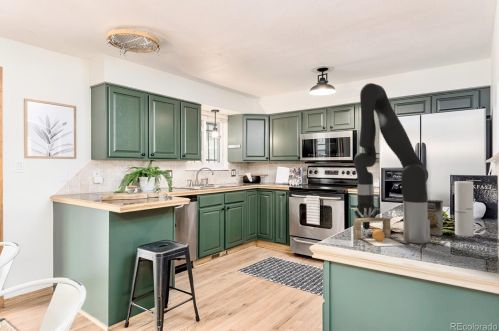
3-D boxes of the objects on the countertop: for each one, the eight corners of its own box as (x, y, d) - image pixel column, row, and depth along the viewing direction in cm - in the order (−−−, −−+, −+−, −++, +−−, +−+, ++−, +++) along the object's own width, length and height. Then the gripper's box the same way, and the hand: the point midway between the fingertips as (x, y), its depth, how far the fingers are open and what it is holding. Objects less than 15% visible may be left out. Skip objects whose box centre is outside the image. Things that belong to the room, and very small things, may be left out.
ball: (379, 235, 135) (382, 226, 133) (385, 243, 131) (388, 234, 128) (369, 236, 135) (371, 227, 132) (374, 244, 130) (377, 234, 128)
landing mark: (388, 238, 136) (388, 238, 136) (404, 245, 124) (404, 245, 124) (362, 239, 135) (362, 238, 135) (376, 246, 123) (376, 246, 123)
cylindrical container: (476, 236, 138) (476, 182, 138) (459, 236, 139) (458, 182, 139) (468, 233, 145) (468, 181, 145) (452, 232, 146) (451, 181, 146)
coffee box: (418, 233, 146) (418, 199, 146) (421, 230, 151) (421, 198, 151) (441, 235, 140) (440, 201, 140) (443, 233, 145) (442, 199, 145)
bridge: (353, 237, 139) (353, 218, 139) (386, 236, 141) (386, 217, 141) (356, 238, 136) (356, 219, 136) (390, 237, 138) (390, 218, 138)
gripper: (374, 192, 151) (375, 227, 151) (349, 193, 150) (349, 228, 150) (382, 194, 143) (383, 230, 143) (355, 194, 142) (356, 231, 142)
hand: (366, 229), depth 146 cm, fingers closed
